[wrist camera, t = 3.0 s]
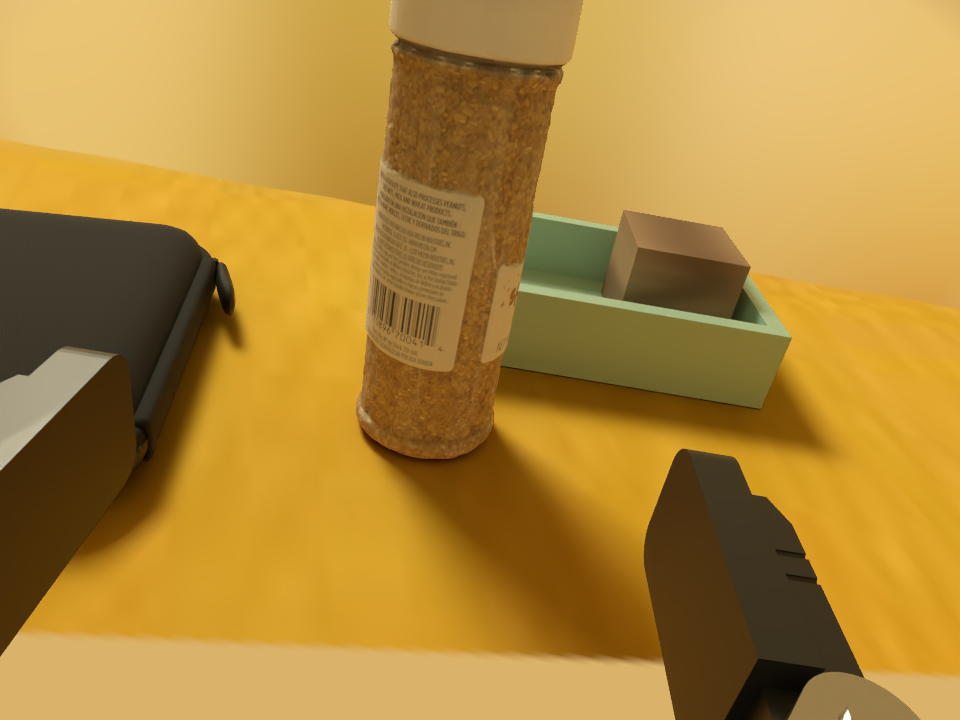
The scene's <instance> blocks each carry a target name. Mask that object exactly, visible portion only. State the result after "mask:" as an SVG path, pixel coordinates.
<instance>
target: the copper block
mask: <svg viewBox="0 0 960 720" xmlns="http://www.w3.org/2000/svg"><path fill="white" fill-rule="evenodd" d="M749 270H750V265H749V264H748V263H747V261H746V260H745V258H744V257H743V256H742V254H741V253H740V252H739V250H738V249H737V247H736V246H735V245H734V243H733V242H732V240H731V239H730V238H729V236H728V235H727V234H726V232H725V231H724V229H723V228H722V227H716V226H710V225H704V224H699V223H694V222H687V221H682V220H676V219H671V218H665V217H660V216H654V215H649V214H643V213H637V212H632V211H626V210H624V211H623V214H622V217H621V221H620V225H619V228H618V232H617V236H616V239H615V243H614V246H613V250H612V254H611V257H610V261H609V264H608V268H607V272H606V275H605V279H604V283H603V286H602V290H601V293H602V297H603V298H609V299H615V300H621V301H626V302H632V303H638V304H644V305H650V306H655V307H661V308H667V309H673V310H679V311H684V312H690V313H696V314H702V315H708V316H713V317H719V318H725V319H731V317H732V314H733V312H734V309H735V306H736V304H737V301H738V299H739V296H740V293H741V291H742V288H743V286H744V283H745V280H746V278H747V275H748V273H749Z"/></svg>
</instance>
